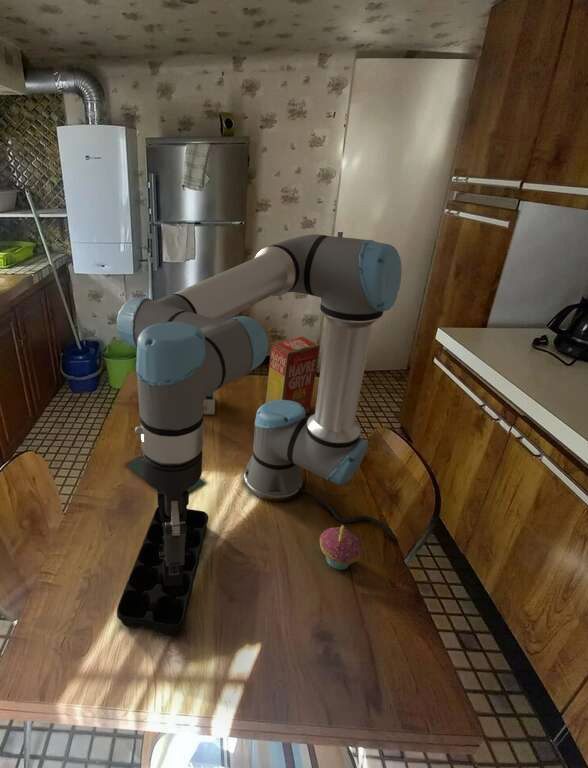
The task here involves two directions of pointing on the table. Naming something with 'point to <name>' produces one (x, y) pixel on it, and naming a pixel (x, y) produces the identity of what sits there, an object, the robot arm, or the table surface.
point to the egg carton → (162, 579)
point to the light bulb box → (209, 404)
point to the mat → (137, 468)
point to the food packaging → (292, 371)
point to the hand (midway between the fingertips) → (173, 581)
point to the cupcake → (340, 547)
